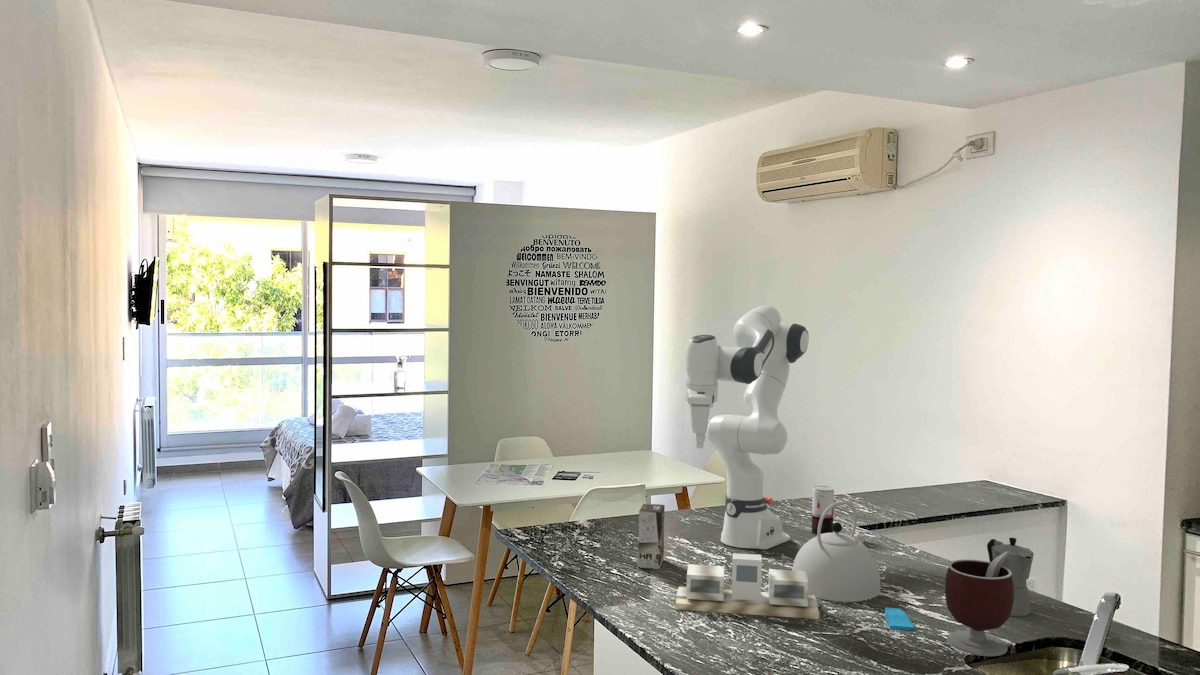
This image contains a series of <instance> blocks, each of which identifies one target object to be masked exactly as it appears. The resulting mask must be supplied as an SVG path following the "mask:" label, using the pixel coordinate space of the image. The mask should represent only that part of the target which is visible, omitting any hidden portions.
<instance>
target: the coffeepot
mask: <svg viewBox="0 0 1200 675" xmlns="http://www.w3.org/2000/svg"><path fill="white" fill-rule="evenodd" d="M1008 539H1009V540H1008V541H1009V544H1008V543H1004V542H1002V541H999V540H996V539H994V538H991V539H990V540H989V541H988V542H987V544H986V549H987V553H988V559H989V560H988V561H989V562H992V561H993V560H994V559H995V558H996V557H998V556H1000V555H1001V554H1003V553H1005V552H1007V551H1008V552H1009V553H1010V555H1007V557H1006V558H1005V559H1004V561H1003V563H1002V566H1004V567H1006V568H1008V569H1009V570H1011V572H1012V579H1013V586H1014V601H1013V607H1012V612H1011V615H1010V617H1019V618H1020V617H1026V616H1029V615H1030V614H1031V613H1032V610H1031V602H1030V597H1029V596H1030V595H1029V588H1028V586H1027V580H1028V579H1029V578H1030V575H1031V574H1030V573H1031V569H1032V563H1033V560H1034V555H1035V553H1034V552H1033V551H1032V550H1031V549H1030V548H1027V547H1023V546H1019V545H1016V543H1017V538H1016V537H1009V538H1008Z"/></svg>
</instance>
